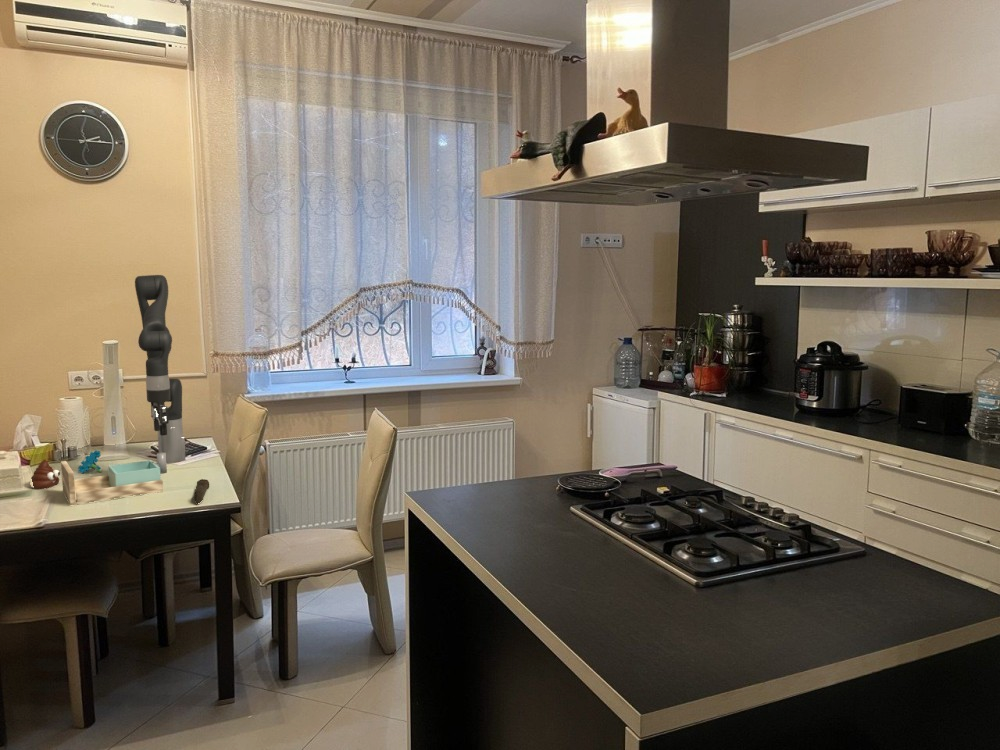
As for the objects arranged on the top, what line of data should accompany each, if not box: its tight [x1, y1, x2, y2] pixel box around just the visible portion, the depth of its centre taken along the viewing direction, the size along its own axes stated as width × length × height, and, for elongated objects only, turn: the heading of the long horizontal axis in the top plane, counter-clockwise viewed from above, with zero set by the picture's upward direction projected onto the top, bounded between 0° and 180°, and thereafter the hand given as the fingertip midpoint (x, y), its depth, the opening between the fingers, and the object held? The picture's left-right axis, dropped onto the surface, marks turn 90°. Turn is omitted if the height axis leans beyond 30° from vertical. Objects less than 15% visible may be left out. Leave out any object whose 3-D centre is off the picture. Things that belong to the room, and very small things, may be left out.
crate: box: [108, 452, 168, 487], centre depth 261 cm, size 18×13×10 cm
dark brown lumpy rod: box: [194, 478, 210, 505], centre depth 253 cm, size 19×4×5 cm, turn 14°
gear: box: [78, 450, 102, 474], centre depth 283 cm, size 11×6×10 cm
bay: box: [60, 460, 164, 506], centre depth 256 cm, size 28×18×11 cm, turn 127°
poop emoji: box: [30, 458, 61, 490], centre depth 263 cm, size 10×9×9 cm
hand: (160, 432), depth 264 cm, fingers open, 8 cm apart
